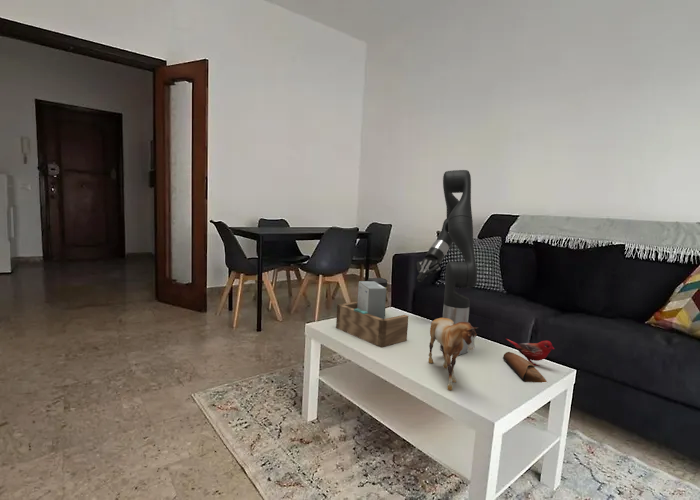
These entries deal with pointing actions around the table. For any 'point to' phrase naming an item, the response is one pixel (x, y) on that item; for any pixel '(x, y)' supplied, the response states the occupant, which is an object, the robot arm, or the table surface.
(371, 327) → the wooden box
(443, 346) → the horse figurine
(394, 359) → the table surface
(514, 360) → the sunglasses case
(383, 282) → the coffee jar
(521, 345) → the decorative bird figurine
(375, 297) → the hard drive box
